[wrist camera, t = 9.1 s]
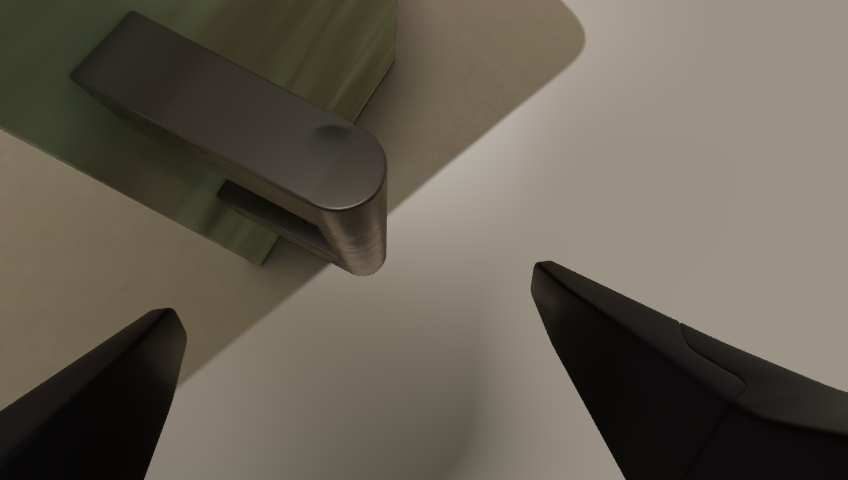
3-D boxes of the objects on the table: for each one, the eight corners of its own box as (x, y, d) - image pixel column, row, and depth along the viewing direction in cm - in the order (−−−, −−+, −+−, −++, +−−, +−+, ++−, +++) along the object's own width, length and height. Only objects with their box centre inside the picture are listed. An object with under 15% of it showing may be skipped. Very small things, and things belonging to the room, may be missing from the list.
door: (481, 103, 20) (663, -330, 7) (362, 320, 17) (279, 279, 4) (382, 53, 20) (376, -466, 7) (244, 258, 17) (-252, -5, 4)
